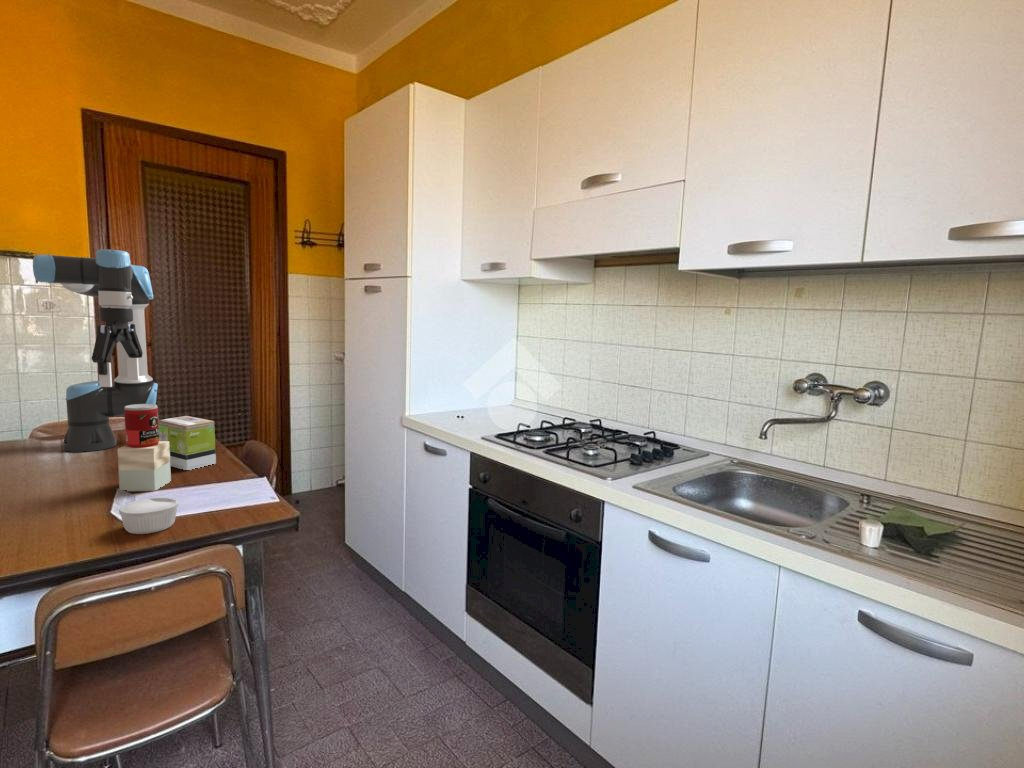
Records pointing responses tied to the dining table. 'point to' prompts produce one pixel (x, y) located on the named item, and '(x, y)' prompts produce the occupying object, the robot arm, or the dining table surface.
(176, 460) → the tea box
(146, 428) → the canned food
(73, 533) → the dining table surface
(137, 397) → the robot arm
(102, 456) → the dining table surface
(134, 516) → the ramekin
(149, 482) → the lower block
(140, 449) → the top block
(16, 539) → the dining table surface
